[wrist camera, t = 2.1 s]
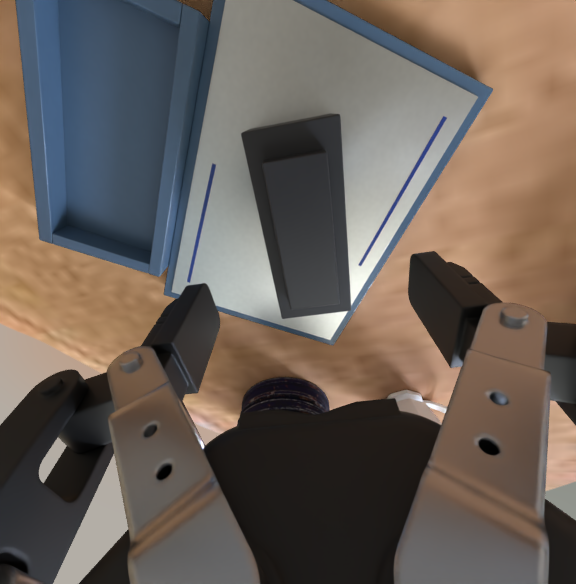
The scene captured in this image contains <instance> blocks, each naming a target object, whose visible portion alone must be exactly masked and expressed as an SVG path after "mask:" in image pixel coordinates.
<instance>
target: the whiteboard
mask: <svg viewBox="0 0 576 584" xmlns="http://www.w3.org/2000/svg"><path fill="white" fill-rule="evenodd" d="M492 91H493V89H492V88H490V87H489V86H487V85H485V84H483V83H481V82H479V81H477V80H475V79H474V78H472V77H470V76H468V75H466V74H464V73H462V72H460V71H459V70H457V69H455V68H453V67H451V66H449V65H447V64H445V63H444V62H442V61H440V60H438V59H436V58H434V57H432V56H430V55H429V54H427V53H425V52H423V51H421V50H419V49H417V48H415V47H413V46H412V45H410V44H408V43H406V42H404V41H402V40H400V39H398V38H397V37H395V36H393V35H391V34H389V33H387V32H385V31H383V30H382V29H380V28H378V27H376V26H374V25H372V24H370V23H368V22H367V21H365V20H363V19H361V18H359V17H357V16H355V15H353V14H352V13H350V12H348V11H346V10H344V9H342V8H340V7H338V6H337V5H335V4H333V3H331V2H329V1H327V0H213V4H212V10H211V16H210V22H209V28H208V34H207V40H206V46H205V52H204V57H203V63H202V69H201V75H200V81H199V87H198V93H197V99H196V105H195V111H194V117H193V123H192V129H191V135H190V141H189V147H188V153H187V159H186V165H185V170H184V176H183V182H182V188H181V194H180V200H179V206H178V212H177V218H176V224H175V230H174V236H173V242H172V248H171V254H170V260H169V266H168V272H167V278H166V283H165V289H164V295H166V296H170V297H173V298H176V299H178V298H179V297H180V295H181V293H182V292H183V290H184V289H185V287H186V286H188V285H194V284H201V283H206V284H207V285H208V287H209V289H210V291H211V294H212V297H213V300H214V302H215V305H216V308H217V311H220V312H223V313H226V314H230V315H233V316H236V317H240V318H243V319H246V320H250V321H253V322H256V323H260V324H263V325H266V326H270V327H273V328H276V329H280V330H283V331H286V332H290V333H293V334H296V335H300V336H303V337H306V338H310V339H313V340H316V341H320V342H323V343H326V344H330V345H334V344H335V342H336V340H337V339H338V337H339V336H340V334H341V332H342V331H343V329H344V328H345V326H346V324H347V323H348V321H349V320H350V318H351V316H352V315H353V313H354V312H355V310H356V308H357V307H358V305H359V304H360V302H361V301H362V299H363V297H364V296H365V294H366V293H367V291H368V289H369V288H370V286H371V285H372V283H373V281H374V280H375V278H376V277H377V275H378V273H379V272H380V270H381V269H382V267H383V265H384V264H385V262H386V261H387V259H388V257H389V256H390V254H391V253H392V251H393V249H394V248H395V246H396V245H397V243H398V241H399V240H400V238H401V237H402V235H403V233H404V232H405V230H406V229H407V227H408V225H409V224H410V222H411V221H412V219H413V217H414V216H415V214H416V213H417V211H418V209H419V208H420V206H421V205H422V203H423V201H424V200H425V198H426V197H427V195H428V193H429V192H430V190H431V189H432V187H433V185H434V184H435V182H436V181H437V179H438V177H439V176H440V174H441V173H442V171H443V169H444V168H445V166H446V165H447V163H448V161H449V160H450V158H451V157H452V155H453V153H454V152H455V150H456V149H457V147H458V145H459V144H460V142H461V141H462V139H463V137H464V136H465V134H466V133H467V131H468V129H469V128H470V126H471V125H472V123H473V121H474V120H475V118H476V117H477V115H478V113H479V112H480V110H481V109H482V107H483V105H484V104H485V102H486V101H487V99H488V97H489V96H490V94H491V93H492ZM329 113H332V114H340V117H341V134H342V152H343V170H344V187H345V205H346V222H347V240H348V257H349V275H350V293H351V311H345V312H337V313H328V314H320V315H312V316H304V317H295V318H287V319H282V317H281V313H280V308H279V304H278V299H277V295H276V290H275V286H274V281H273V277H272V272H271V268H270V263H269V259H268V254H267V250H266V245H265V241H264V236H263V231H262V227H261V222H260V218H259V213H258V209H257V204H256V200H255V195H254V191H253V186H252V182H251V177H250V173H249V168H248V164H247V159H246V155H245V150H244V146H243V141H242V137H241V133H242V132H244V131H247V130H249V129H251V128H255V127H261V126H266V125H271V124H276V123H282V122H287V121H292V120H297V119H302V118H308V117H313V116H318V115H323V114H329Z"/></svg>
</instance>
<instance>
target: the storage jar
mask: <svg viewBox="0 0 576 584" xmlns="http://www.w3.org/2000/svg"><path fill="white" fill-rule="evenodd" d="M275 409H279V410H285V411H292V412H299V413H306V414H313V415H317V414H322V413H324V412H327V411H329V402H328V399H327V397H326V395H325V393H324V392H323V391H322V390H321V389H320V388H318V387H317V386H316V385H314V384H312V383H310V382H307V381H305V380H301V379H297V378H288V377H281V378H272V379H268V380H265V381H262V382H260V383H257V384H256V385H254V386H253V387H251V388H250V389H249V390H248V391H247V393H246V394H245V396H244V398H243V402H242V411H241V413H244V412H254V411H265V410H275ZM240 415H241V414H240ZM239 421H240V418H239V420H238V424H237V426H239Z"/></svg>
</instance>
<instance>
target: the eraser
mask: <svg viewBox="0 0 576 584" xmlns="http://www.w3.org/2000/svg"><path fill="white" fill-rule="evenodd" d="M241 137H242V141H243V146H244V150H245V155H246V159H247V164H248V168H249V173H250V177H251V182H252V186H253V191H254V195H255V200H256V204H257V209H258V213H259V218H260V222H261V227H262V231H263V236H264V241H265V245H266V250H267V254H268V259H269V263H270V268H271V272H272V277H273V281H274V286H275V290H276V295H277V299H278V304H279V308H280V313H281V317H282V319H287V318H295V317H304V316H312V315H320V314H328V313H337V312H345V311H351V293H350V275H349V257H348V240H347V222H346V205H345V187H344V170H343V152H342V134H341V117H340V114H332V113H329V114H323V115H318V116H313V117H308V118H302V119H297V120H292V121H287V122H282V123H276V124H271V125H266V126H261V127H255V128H251V129H249V130H247V131H244V132H242V133H241Z"/></svg>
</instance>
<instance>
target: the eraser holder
mask: <svg viewBox="0 0 576 584" xmlns="http://www.w3.org/2000/svg"><path fill="white" fill-rule="evenodd" d="M15 1H16V11H17V21H18V31H19V41H20V51H21V61H22V71H23V81H24V91H25V101H26V110H27V120H28V130H29V140H30V150H31V160H32V170H33V180H34V190H35V200H36V210H37V220H38V230H39V239H40V240H42V241H45V242H48V243H51V244H55V245H58V246H61V247H65V248H68V249H71V250H74V251H77V252H81V253H84V254H87V255H90V256H94V257H97V258H100V259H103V260H106V261H110V262H113V263H116V264H119V265H123V266H126V267H129V268H132V269H135V270H139V271H142V272H145V273H149V274H152V275H155V276H158V277H160V276H161V274H162V273H163V272H164V271H165V269H166V268H167V267H168V265H169V260H170V254H171V248H172V242H173V236H174V230H175V224H176V218H177V212H178V206H179V200H180V194H181V188H182V182H183V176H184V170H185V165H186V159H187V153H188V147H189V141H190V135H191V129H192V123H193V117H194V111H195V105H196V99H197V93H198V87H199V81H200V75H201V69H202V63H203V57H204V52H205V46H206V40H207V34H208V28H209V21H208V20H207V19H206V18H205V17H204V16H203V15H202V14H201V12H200V11H198V10H196V9H194V8H192V7H190V6H188V5H186V4H182V3H181V2H179V1H177V0H15Z"/></svg>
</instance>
